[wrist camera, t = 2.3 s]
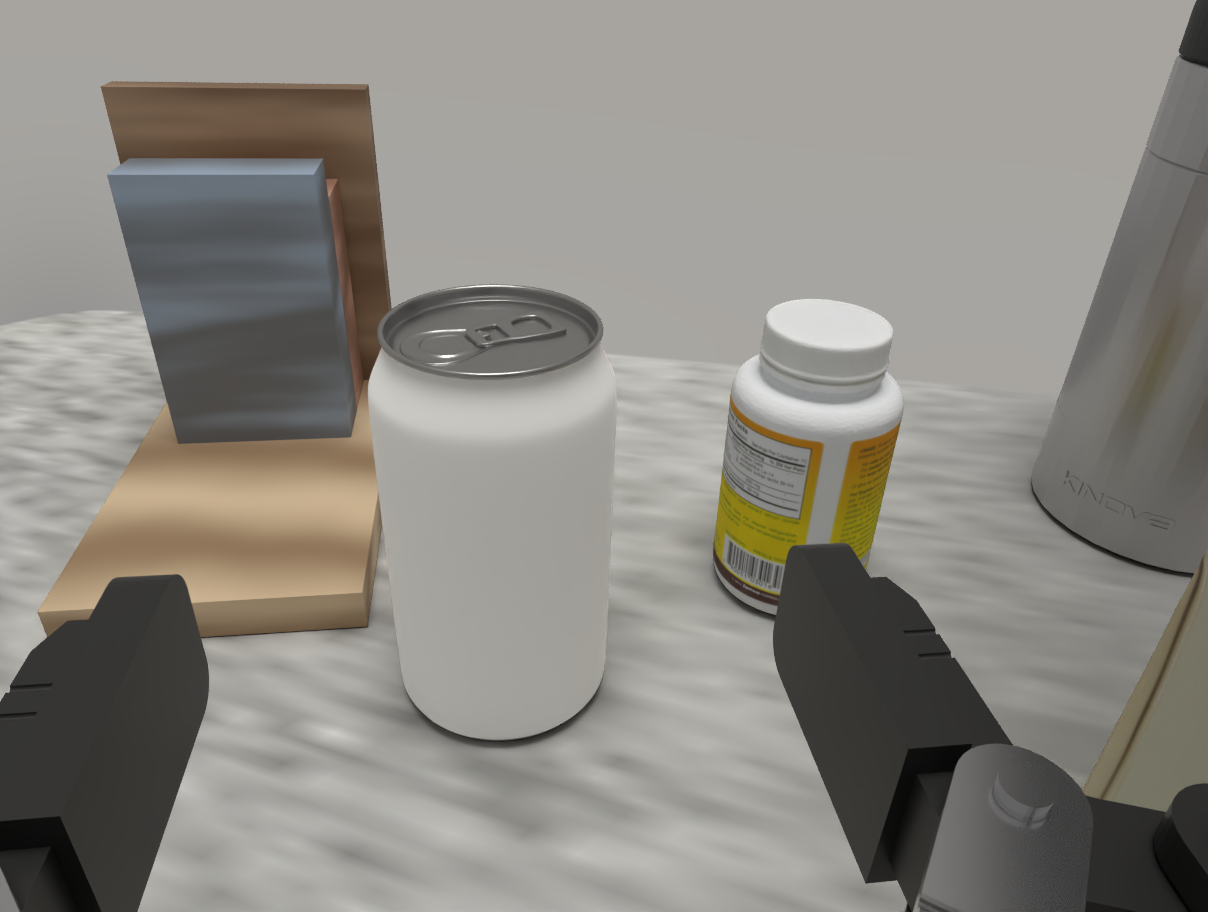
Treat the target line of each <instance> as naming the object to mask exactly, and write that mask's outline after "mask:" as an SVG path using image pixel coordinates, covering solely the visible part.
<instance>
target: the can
mask: <svg viewBox="0 0 1208 912" xmlns="http://www.w3.org/2000/svg"><path fill="white" fill-rule="evenodd" d="M602 336H603V324H602V321H601V319H600V318H599V316H598V315H597V314H596V312H595V311H594V310H592V309H591V308H590V307H589V306H587V305H586V304H584V303H582V302H580V301H578V300H576V299H574V298H572V297H569V296H567V295H564V294H561V293H557V292H554V291H550V290H545V289H540V288H534V287H527V286H518V285H497V284H496V285H495V284H493V285H492V284H491V285H470V286H461V287H454V288H448V289H442V290H438V291H433V292H430V293H426V294H423V295H420V296H417V297H415V298H412V299H409V300H407V301H405V302H403V303H401V304H399V305H398V306H396V307H394V308H393V309H391V310H390V311H389V312H388V313H387V314H386V315H385V316H384V317H383V318H382V320H381V321H380V323H379V325H378V329H377V338H378V341H379V344H380V345H381V350H380V353H379V355H378V357H377V360H376V362H375V365H374V367H373V370H372V373H371V375H370V379H369V383H368V405H369V416H370V426H371V435H372V443H373V452H374V460H375V468H376V477H377V485H378V493H379V502H380V510H381V518H382V526H383V534H384V542H385V550H386V558H387V566H388V574H389V582H390V590H391V598H392V606H393V614H394V621H395V629H396V637H397V645H398V652H399V659H400V666H401V672H402V678H403V682H404V686H405V689H406V691H407V693H408V695H409V697H410V698H411V700H412V701H413V702H414V704H415V705H416V706H417V707H418V708H419V710H420V711H421V712H422V713H423V714H425V715H426V716H427V717H428V718H429V719H430V720H432V721H433V722H434V723H436V724H438V725H439V726H441V727H443V728H445V729H447V730H449V731H452V732H455V733H457V734H460V735H463V736H467V737H470V738H475V739H480V740H488V741H509V740H517V739H523V738H528V737H532V736H535V735H538V734H541V733H543V732H546V731H548V730H550V729H552V728H554V727H556V726H558V725H560V724H562V723H563V722H565V721H567V720H568V719H570V718H571V717H573V716H574V715H575V714H577V713H578V712H579V711H580V710H581V709H582V708H583V707H584V706H585V705H586V704H587V703H588V702H589V701H590V700H591V698H592V697H593V695H594V694H595V692H596V691H597V689H598V687H599V685H600V682H601V679H602V676H603V672H604V666H605V655H606V639H607V620H608V600H609V579H610V557H611V535H612V512H613V489H614V464H615V439H616V405H617V390H616V379H615V375H614V372H613V369H612V366H611V364H610V362H609V360H608V358H607V356H606V354H605V352H604V350H603V347H602V345H601V343H600V341H601V339H602Z"/></svg>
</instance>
